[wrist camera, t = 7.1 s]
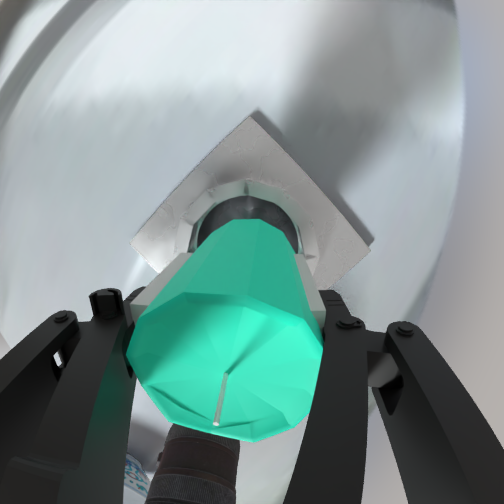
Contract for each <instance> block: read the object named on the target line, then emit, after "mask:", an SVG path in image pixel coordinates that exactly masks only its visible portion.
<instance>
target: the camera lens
mask: <svg viewBox="0 0 504 504" xmlns="http://www.w3.org/2000/svg"><path fill="white" fill-rule="evenodd" d="M239 452H240V441H239V440H238V439H233V438H228V437H224V436H219V435H215V434H211V433H207V432H203V431H199V430H195V429H192V428H188V427H185V426H181V425H178V424H175V423H173V425H172V427H171V428H170V430H169V433H168V436H167V439H166V442H165V447H164V450H163V452H161V453H160V454H159V457H158V460H157V467H158V469H157V472H156V473H155V475H154V477H153V479H152V481H151V484H150V488H149V491H148V494H147V497H146V501H145V503H144V504H236V489H235V485H236V475H237V466H238V460H239Z"/></svg>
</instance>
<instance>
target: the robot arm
mask: <svg viewBox="0 0 504 504" xmlns="http://www.w3.org/2000/svg"><path fill="white" fill-rule="evenodd" d="M192 254H193V253H180V254H179V255H178V256H177V257H176V258H175V259H174V260H173V261H172V262H171V263H170V264H169V265H168V266H167V267H166V268H165V269H164V270H163V271H162V272H161V273H160V274H159V275H158V276H157V277H156V278H155V279H154V280H153V281H152V282H151V283H150V284H149V285H148V286H147V287H140V288H138V289H136V290H134V291H133V292H132V293H131V294H130V295H129V296H128V297H127V298H126V299H125V300H124V301H123V299H122V294H121V291H120V290H118V289H115V288H107V289H101V290H97V291H95V292H93V293H91V294H90V295H89V298H90V303H91V307H92V311H93V315H94V316H93V317H92V319H91V321H89V322H78V319H77V316H76V314H75V313H74V312H72V311H66V310H63V311H59V312H57V313H55V314H53V315H51V316H50V317H49V318H48V319H46V320H45V321H44V322H43V323H42V324H40V325H39V326H38V327H37V328H36V329H34V330H33V331H32V332H31V333H30V334H29V335H27V336H26V337H25V338H24V339H23V340H22V341H20V342H19V343H18V344H17V345H16V346H15V347H14V348H13V349H11V350H10V351H9V352H8V353H7V354H6V355H5V356H4V357H3V358H2V359H0V504H123V493H124V477H125V464H126V453H127V443H128V434H129V426H130V419H131V411H132V405H133V398H134V392H135V386H136V380H137V376H136V374H135V372H134V370H133V368H132V366H131V364H130V362H129V360H128V358H127V356H126V352H127V349H128V346H129V343H130V340H131V337H132V335H133V332H134V329H135V326H136V323H137V320H138V318H139V317H140V316H141V314H142V313H143V312H144V311H145V310H146V308H147V307H148V306H149V305H150V303H151V302H152V301H153V300H154V299H155V297H156V296H157V295H158V294H159V293H160V292H161V290H162V289H163V288H164V287H165V286H166V284H167V283H168V282H169V281H170V280H171V279H172V277H173V276H174V275H175V274H176V273H177V272H178V270H179V269H180V268H181V267H182V266H183V265H184V263H185V262H186V261H187V260H188V259H189V258H190V257H191V255H192ZM294 257H295V260H296V264H297V267H298V270H299V273H300V277H301V280H302V283H303V287H304V290H305V293H306V297H307V300H308V303H309V307H310V310H311V312H312V314H313V316H314V317H315V319H316V321H317V322H318V324H319V327H320V331H321V334H322V337H323V341H324V347H323V352H322V358H321V363H320V368H319V373H318V378H317V382H316V387H315V391H314V396H313V400H312V405H311V409H310V413H309V417H308V421H307V425H306V429H305V433H304V436H303V440H302V444H301V447H300V451H299V454H298V458H297V461H296V465H295V468H294V471H293V475H292V478H291V481H290V484H289V487H288V490H287V493H286V496H285V499H284V502H283V504H361V500H362V492H363V484H364V483H363V482H364V474H365V462H366V448H367V427H368V386H370V387H372V392H373V395H374V397H375V400H376V403H377V406H378V408H379V411H380V414H381V417H382V419H383V422H384V426H385V428H386V431H387V434H388V437H389V440H390V443H391V447H392V449H393V453H394V456H395V459H396V462H397V465H398V469H399V472H400V475H401V479H402V482H403V485H404V489H405V493H406V497H407V500H408V504H504V449H503V447H502V446H501V444H500V442H499V440H498V439H497V437H496V435H495V434H494V432H493V430H492V429H491V427H490V425H489V424H488V422H487V421H486V419H485V418H484V416H483V414H482V413H481V411H480V410H479V408H478V407H477V405H476V404H475V403H474V401H473V399H472V398H471V396H470V395H469V393H468V392H467V391H466V389H465V387H464V386H463V385H462V383H461V382H460V380H459V379H458V378H457V376H456V375H455V373H454V372H453V371H452V369H451V368H450V367H449V365H448V364H447V363H446V361H445V360H444V358H443V357H442V356H441V354H440V353H439V352H438V350H437V349H436V348H435V347H434V345H433V344H432V343H431V341H430V340H429V339H428V338H427V336H426V335H425V334H424V333H423V331H422V330H421V329H420V328H419V327H418V326H416V325H414V324H412V323H410V322H406V321H403V322H401V321H398V322H393V323H391V324H389V325H388V327H387V331H386V333H382V332H374V331H369V330H366V328H365V324H364V322H363V321H362V320H360V319H359V318H356V317H354V316H351V314H350V312H349V310H348V309H347V307H346V305H345V303H344V301H343V299H342V298H341V296H340V294H338V293H337V292H335V291H334V290H318V289H317V286H316V284H315V281H314V279H313V276H312V274H311V272H310V269H309V267H308V264H307V262H306V260H305V257H304V255H303V254H294ZM56 352H58V354H59V357H60V360H61V362H62V364H61V365H60V366H57V364H56V361H55V359H54V356H53V355H54V354H55V353H56Z"/></svg>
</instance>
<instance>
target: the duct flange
mask: <svg viewBox="0 0 504 504" xmlns="http://www.w3.org/2000/svg"><path fill="white" fill-rule="evenodd" d="M233 219H261V220H263V221H264V222H266V223H268V224H270V225H272V226H273V227H275V228H277V229H279V230H281V231H282V232H283V233H284V235H285V236H286V238H287V240H288V241H289V243H290V245H291V246H292V248H293V250H294V252H295V253H296V254H303V255H304V257H305V260H306V262H307V264H308V267H309V269H310V272H311V274H312V276H313V279H314V281H315V284H316V286H317V289H318V290H327V289H328V288H330V287H331V286H332V285H333V284H334V283H336V282H337V281H338V280H339V279H340V278H341V277H342V276H344V275H345V274H346V273H347V272H348V271H349V270H350V269H352V268H353V267H354V266H355V265H356V264H357V263H358V262H359V261H361V260H362V259H363V258H364V257H365V256H366V255H367V254H368V253H369V252H370V251H371V250H370V249H369V247H368V246H367V245H366V243H365V242H364V241H363V240H362V238H361V237H360V236H359V235H358V233H357V232H356V231H355V230H354V228H353V227H352V226H351V225H350V224H349V222H348V221H347V220H346V219H345V217H344V216H343V215H342V214H341V213H340V211H339V210H338V209H337V208H336V207H335V206H334V204H333V203H332V202H331V201H330V200H329V199H328V197H327V196H326V195H325V194H324V193H323V192H322V191H321V189H320V188H319V187H318V186H317V185H316V184H315V183H314V182H313V180H312V179H311V178H310V177H309V176H308V175H307V174H306V173H305V172H304V171H303V169H302V168H301V167H300V166H299V165H298V164H297V163H296V162H295V161H294V160H293V159H292V158H291V157H290V156H289V155H288V154H287V153H286V151H285V150H284V149H283V148H282V147H281V146H280V145H279V144H278V143H277V142H276V141H275V140H274V139H273V138H272V137H271V136H270V135H269V134H268V133H267V132H266V131H265V130H264V129H263V128H262V127H261V126H260V125H259V124H258V123H257V122H256V121H254V120H253V119H252V118H251V117H250V116H249V117H248V118H247V119H246V120H244V121H243V122H242V123H241V124H240V125H239V126H238V127H237V128H236V129H235V130H234V131H233V132H232V133H230V134H229V135H228V136H227V137H226V138H225V139H224V140H223V141H222V142H221V143H220V144H219V145H218V146H217V147H216V148H215V149H214V150H213V151H212V152H211V153H210V154H209V155H208V156H207V157H206V158H205V159H204V160H203V161H202V162H201V163H200V164H199V165H198V166H197V167H196V168H195V169H194V170H193V171H192V172H191V173H190V174H189V175H188V177H187V178H186V179H185V180H184V181H183V182H182V183H181V184H180V185H179V186H178V187H177V188H176V189H175V191H174V192H173V193H172V194H171V195H170V196H169V197H168V198H167V199H166V200H165V202H164V203H163V204H162V205H161V206H160V207H159V208H158V210H157V211H156V212H155V213H154V214H153V215H152V216H151V218H150V219H149V220H148V221H147V222H146V224H145V225H144V226H143V227H142V228H141V229H140V231H139V232H138V233H137V234H136V236H135V237H134V238H133V239H132V240H131V242H130V243H129V244H130V245H131V246H132V247H133V248H134V249H135V250H136V251H137V252H138V253H139V254H140V255H141V256H142V257H143V258H144V259H145V261H146V262H147V263H148V264H149V265H150V266H151V267H152V268H153V269H154V270H155V271H156V272H157V273H158V274H160V273H161V272H162V271H163V270H164V269H165V268H166V267H167V266H168V265H169V264H170V263H171V262H172V261H173V260H174V259H175V258H176V257H177V256H178V255H179V254H180V253H194V252H195V251H196V250H197V249H198V247H199V246H200V245H201V244H202V243H203V242H204V241H205V240H206V238H207V237H208V236H209V235H210V234H211V233H212V232H214V231H215V230H217V229H218V228H220V227H222V226H223V225H225V224H227V223H228V222H230V221H232V220H233Z"/></svg>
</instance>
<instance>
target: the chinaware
mask: <svg viewBox="0 0 504 504" xmlns="http://www.w3.org/2000/svg"><path fill="white" fill-rule="evenodd" d="M150 484H151V482H150V480H149V478H148V477H147V475H146V474H145V473H144V471H143V470H142V465H141V464H140V462H139V461H138V460H137V459H135V458H134V457H132V456H131V455H129V454H127V453H126V464H125V477H124V493H123V504H144V503H145V501H146V497H147V494H148V491H149V488H150Z"/></svg>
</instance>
